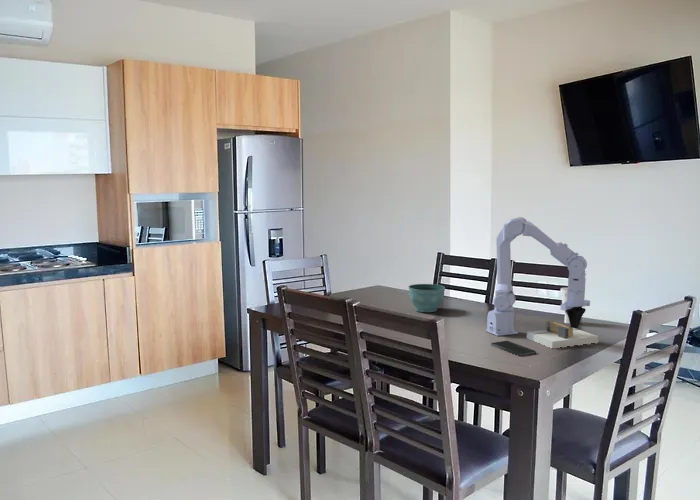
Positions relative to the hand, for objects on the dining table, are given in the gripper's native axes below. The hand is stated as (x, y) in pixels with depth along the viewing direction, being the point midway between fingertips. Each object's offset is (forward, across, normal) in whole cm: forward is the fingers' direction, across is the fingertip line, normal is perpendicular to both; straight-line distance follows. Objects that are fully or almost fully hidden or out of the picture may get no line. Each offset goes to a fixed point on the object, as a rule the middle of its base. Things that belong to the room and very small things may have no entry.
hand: (574, 327), depth 206 cm
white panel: (+5, -3, +3) cm, 6 cm away
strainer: (+5, +22, +18) cm, 29 cm away
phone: (+6, -26, +5) cm, 27 cm away
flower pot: (+6, -11, +68) cm, 69 cm away
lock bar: (+2, -4, +4) cm, 6 cm away
